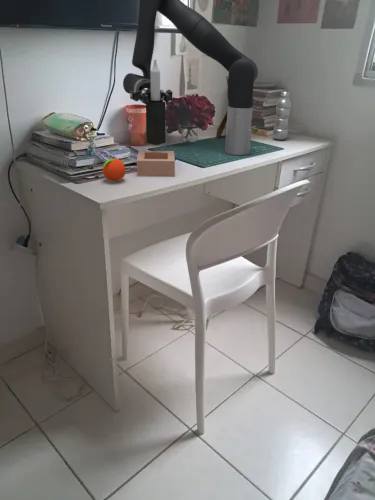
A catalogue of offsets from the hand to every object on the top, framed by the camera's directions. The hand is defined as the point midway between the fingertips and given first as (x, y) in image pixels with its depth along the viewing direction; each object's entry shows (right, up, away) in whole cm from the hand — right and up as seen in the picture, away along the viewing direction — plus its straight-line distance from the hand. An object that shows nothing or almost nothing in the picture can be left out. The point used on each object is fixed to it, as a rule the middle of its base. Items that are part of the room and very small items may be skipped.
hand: (157, 98), depth 123 cm
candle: (-1, -11, +9) cm, 14 cm away
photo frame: (+29, +5, +59) cm, 66 cm away
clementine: (-14, -25, +1) cm, 29 cm away
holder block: (-1, -20, +11) cm, 23 cm away
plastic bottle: (+50, +3, +55) cm, 75 cm away
